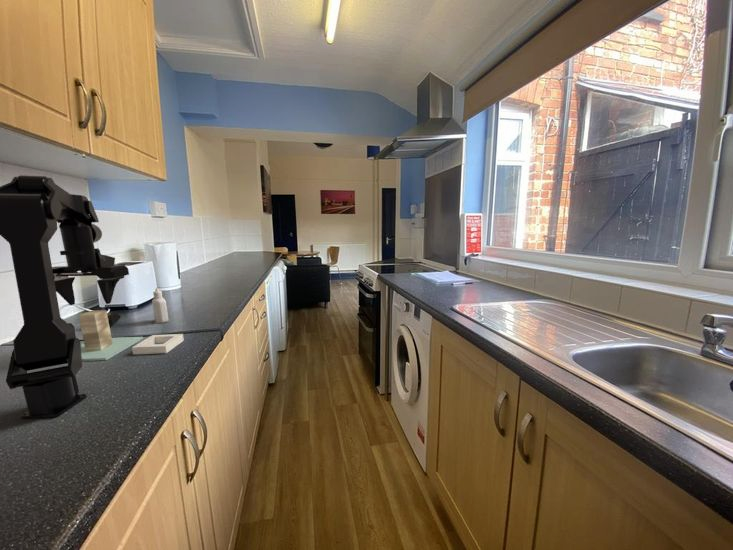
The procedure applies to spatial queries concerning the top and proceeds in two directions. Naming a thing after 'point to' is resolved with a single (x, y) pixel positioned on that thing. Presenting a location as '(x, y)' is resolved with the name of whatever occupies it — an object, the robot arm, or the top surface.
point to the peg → (95, 330)
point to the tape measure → (113, 318)
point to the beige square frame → (152, 348)
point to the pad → (109, 349)
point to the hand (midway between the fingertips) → (90, 304)
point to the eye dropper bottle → (159, 307)
